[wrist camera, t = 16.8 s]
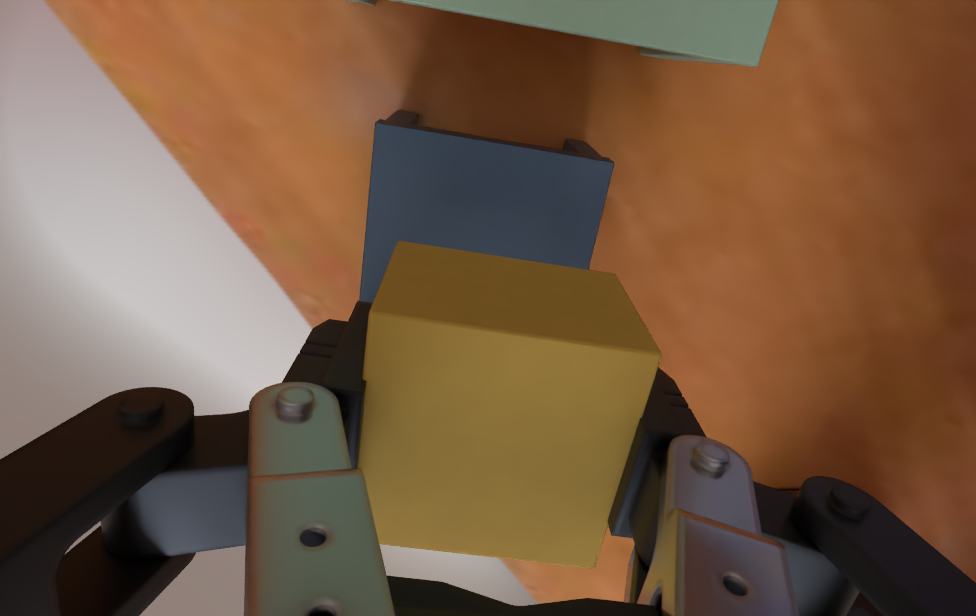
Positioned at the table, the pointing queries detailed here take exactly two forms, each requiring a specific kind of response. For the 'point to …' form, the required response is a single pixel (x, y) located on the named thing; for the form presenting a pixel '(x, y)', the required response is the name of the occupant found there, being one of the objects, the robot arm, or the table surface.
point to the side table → (640, 23)
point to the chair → (480, 197)
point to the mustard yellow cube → (500, 404)
